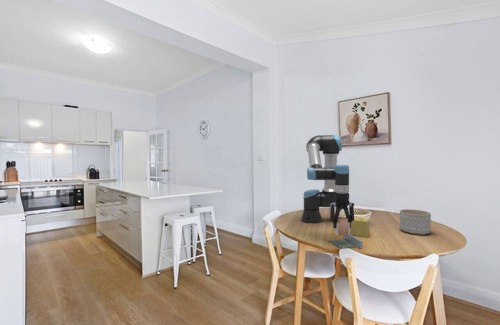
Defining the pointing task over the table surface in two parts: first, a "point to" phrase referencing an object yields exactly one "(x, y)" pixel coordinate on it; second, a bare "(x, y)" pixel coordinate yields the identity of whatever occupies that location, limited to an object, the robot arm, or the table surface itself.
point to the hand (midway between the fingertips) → (342, 233)
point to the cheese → (360, 227)
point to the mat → (342, 243)
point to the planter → (415, 221)
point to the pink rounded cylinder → (342, 226)
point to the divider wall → (354, 240)
